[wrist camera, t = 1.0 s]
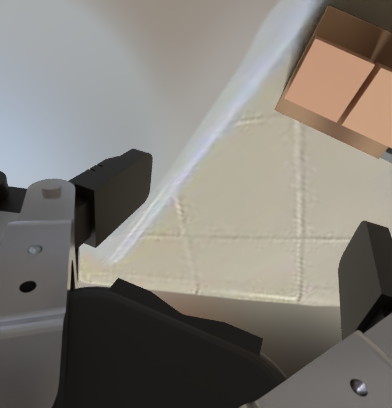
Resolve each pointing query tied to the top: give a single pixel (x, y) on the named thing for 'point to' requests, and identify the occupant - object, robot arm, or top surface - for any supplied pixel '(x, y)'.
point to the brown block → (357, 42)
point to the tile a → (328, 78)
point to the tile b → (372, 107)
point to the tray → (387, 155)
